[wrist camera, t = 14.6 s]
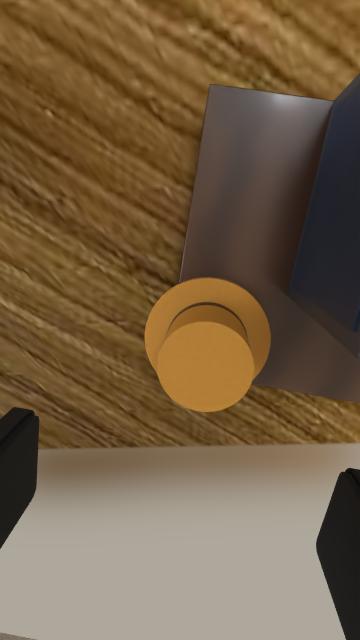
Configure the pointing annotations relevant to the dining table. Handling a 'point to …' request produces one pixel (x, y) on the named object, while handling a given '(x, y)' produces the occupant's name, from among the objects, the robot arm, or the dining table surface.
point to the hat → (207, 342)
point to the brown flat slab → (265, 226)
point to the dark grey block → (334, 229)
